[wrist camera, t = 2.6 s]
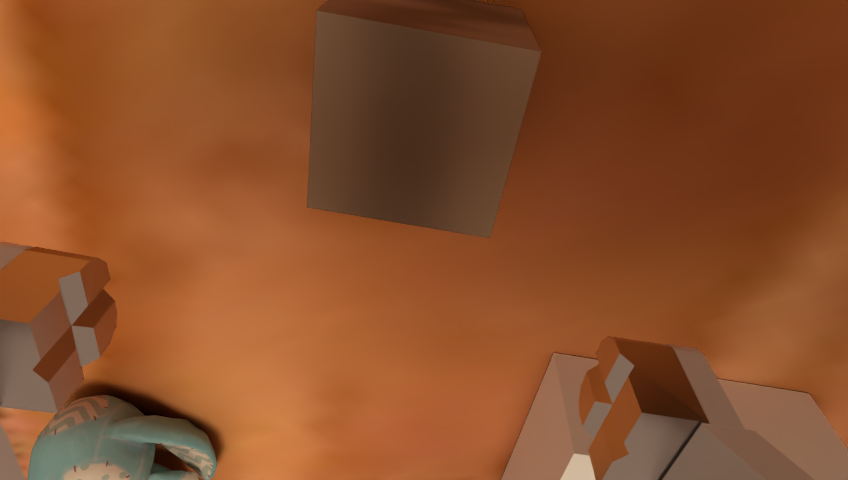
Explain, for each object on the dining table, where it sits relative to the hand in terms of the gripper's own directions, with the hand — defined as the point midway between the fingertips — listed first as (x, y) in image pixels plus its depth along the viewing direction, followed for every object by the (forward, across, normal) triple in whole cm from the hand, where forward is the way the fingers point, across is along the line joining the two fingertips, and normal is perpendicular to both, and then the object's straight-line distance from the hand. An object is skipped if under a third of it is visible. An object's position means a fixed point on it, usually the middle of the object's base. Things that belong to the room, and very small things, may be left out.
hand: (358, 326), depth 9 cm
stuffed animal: (+15, +13, +26) cm, 33 cm away
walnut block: (+14, 0, 0) cm, 14 cm away
